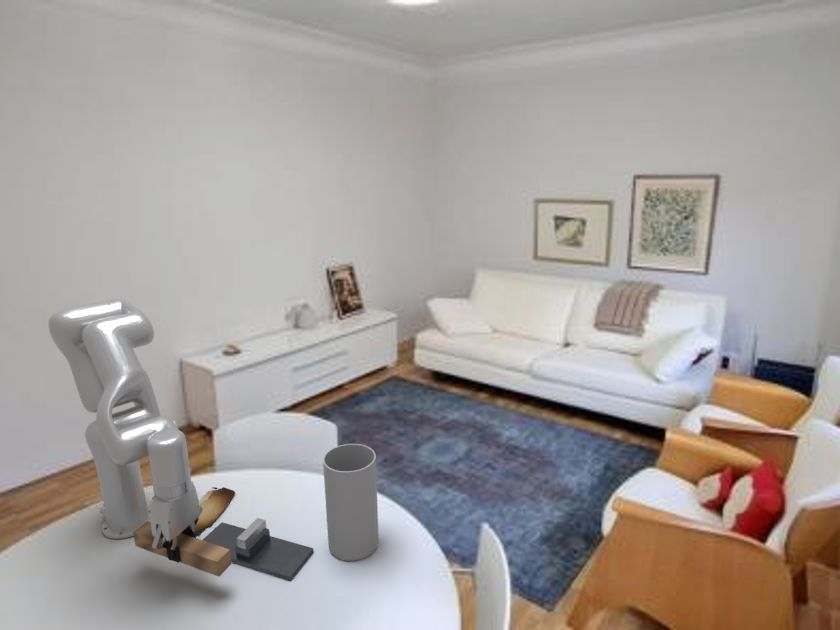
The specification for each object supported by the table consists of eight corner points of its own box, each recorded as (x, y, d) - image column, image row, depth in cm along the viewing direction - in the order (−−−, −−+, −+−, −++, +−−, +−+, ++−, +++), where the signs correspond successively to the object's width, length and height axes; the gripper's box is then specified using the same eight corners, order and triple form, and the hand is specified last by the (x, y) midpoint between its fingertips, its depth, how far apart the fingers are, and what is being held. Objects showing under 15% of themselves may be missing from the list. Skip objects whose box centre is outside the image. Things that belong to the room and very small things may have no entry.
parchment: (213, 486, 161) (212, 484, 160) (243, 490, 159) (242, 487, 158) (158, 545, 138) (157, 542, 137) (192, 549, 136) (192, 547, 135)
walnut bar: (135, 546, 126) (133, 532, 124) (149, 534, 129) (147, 521, 128) (219, 576, 118) (217, 562, 116) (231, 564, 121) (229, 549, 120)
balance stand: (194, 550, 135) (191, 528, 133) (222, 525, 144) (219, 504, 142) (290, 581, 125) (288, 557, 123) (313, 552, 134) (311, 529, 132)
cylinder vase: (347, 570, 128) (342, 478, 121) (319, 543, 137) (313, 456, 130) (388, 545, 136) (386, 458, 129) (359, 521, 145) (356, 438, 138)
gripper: (187, 460, 126) (195, 525, 132) (127, 503, 111) (139, 574, 117) (213, 468, 124) (220, 533, 130) (155, 512, 109) (166, 584, 115)
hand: (182, 552), depth 123 cm, fingers closed on walnut bar, 4 cm apart
